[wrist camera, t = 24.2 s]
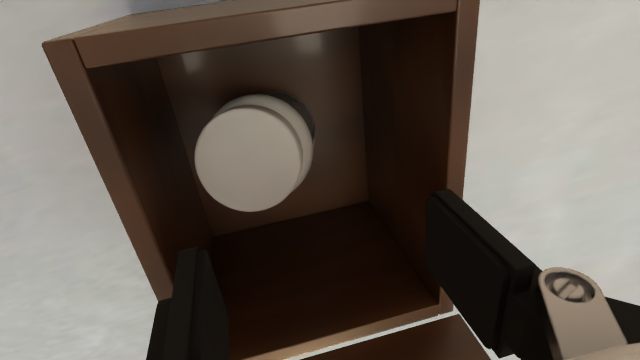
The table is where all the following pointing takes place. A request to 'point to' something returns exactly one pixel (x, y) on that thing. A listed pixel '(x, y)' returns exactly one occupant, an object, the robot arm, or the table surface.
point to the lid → (416, 344)
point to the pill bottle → (256, 150)
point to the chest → (327, 164)
